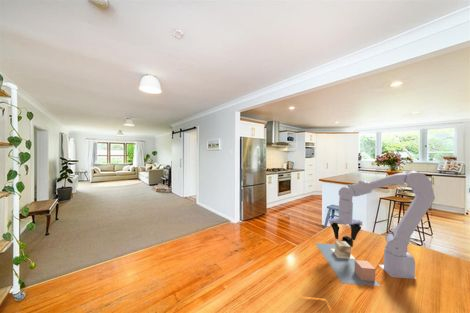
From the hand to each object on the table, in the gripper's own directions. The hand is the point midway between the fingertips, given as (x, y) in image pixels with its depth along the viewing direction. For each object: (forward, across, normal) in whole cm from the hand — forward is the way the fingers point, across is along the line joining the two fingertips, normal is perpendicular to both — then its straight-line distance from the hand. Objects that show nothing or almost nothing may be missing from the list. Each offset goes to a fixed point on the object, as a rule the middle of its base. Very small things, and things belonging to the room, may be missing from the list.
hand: (344, 238), depth 88 cm
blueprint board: (+9, +3, +5) cm, 10 cm away
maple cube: (+8, 0, -1) cm, 8 cm away
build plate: (+10, -7, -12) cm, 17 cm away
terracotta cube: (+8, -1, +15) cm, 17 cm away
